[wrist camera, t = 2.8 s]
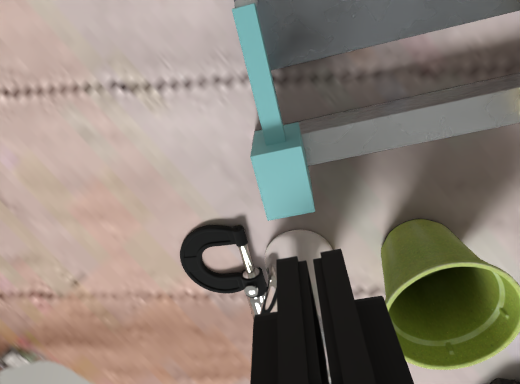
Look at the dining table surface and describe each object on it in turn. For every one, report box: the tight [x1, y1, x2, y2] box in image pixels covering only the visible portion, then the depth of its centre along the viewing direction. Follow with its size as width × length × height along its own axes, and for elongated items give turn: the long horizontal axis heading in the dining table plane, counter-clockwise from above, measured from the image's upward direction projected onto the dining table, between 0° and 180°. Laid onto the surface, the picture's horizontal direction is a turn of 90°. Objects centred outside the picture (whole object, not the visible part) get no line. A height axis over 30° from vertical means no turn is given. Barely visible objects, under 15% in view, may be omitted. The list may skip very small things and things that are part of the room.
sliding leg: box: [232, 0, 315, 221], centre depth 26 cm, size 3×13×6 cm, turn 14°
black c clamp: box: [180, 225, 267, 319], centre depth 38 cm, size 15×7×2 cm, turn 13°
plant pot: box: [381, 219, 520, 370], centre depth 32 cm, size 9×9×9 cm
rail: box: [252, 73, 520, 166], centre depth 29 cm, size 26×2×3 cm, turn 104°
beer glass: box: [251, 230, 332, 384], centre depth 30 cm, size 7×7×15 cm
